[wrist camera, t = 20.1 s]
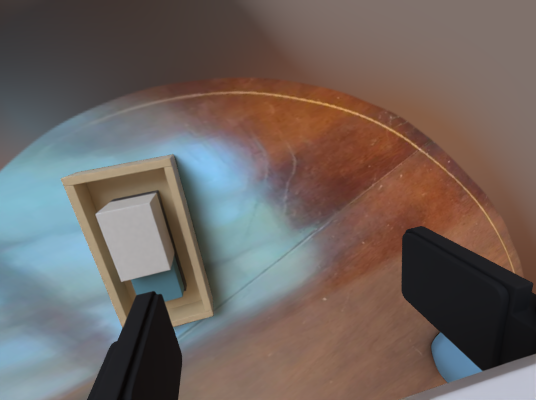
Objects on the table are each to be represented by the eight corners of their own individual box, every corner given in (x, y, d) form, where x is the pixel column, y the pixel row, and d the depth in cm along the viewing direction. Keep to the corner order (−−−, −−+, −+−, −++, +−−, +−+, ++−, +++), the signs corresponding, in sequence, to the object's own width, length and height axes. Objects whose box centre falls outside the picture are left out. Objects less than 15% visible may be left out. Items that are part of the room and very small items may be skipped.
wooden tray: (76, 172, 27) (60, 178, 24) (173, 154, 28) (169, 157, 26) (134, 320, 33) (127, 340, 30) (213, 299, 34) (213, 315, 31)
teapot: (554, 325, 33) (571, 403, 39) (473, 278, 43) (497, 346, 49) (470, 383, 33) (501, 453, 39) (408, 322, 43) (441, 385, 49)
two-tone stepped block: (112, 199, 28) (94, 214, 23) (158, 189, 29) (149, 202, 24) (147, 295, 32) (137, 324, 27) (187, 285, 32) (183, 311, 28)
